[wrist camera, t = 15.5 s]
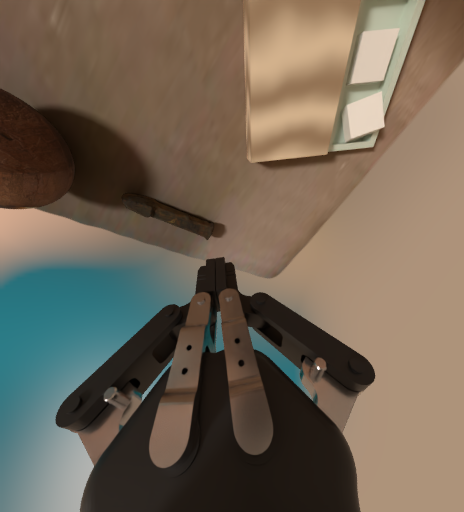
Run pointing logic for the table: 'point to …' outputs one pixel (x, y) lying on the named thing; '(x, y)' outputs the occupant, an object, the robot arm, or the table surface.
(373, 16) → the tray
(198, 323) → the robot arm
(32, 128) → the wooden sphere
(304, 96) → the light wood flat block
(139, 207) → the hand tool
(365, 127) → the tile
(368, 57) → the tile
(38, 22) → the table surface
